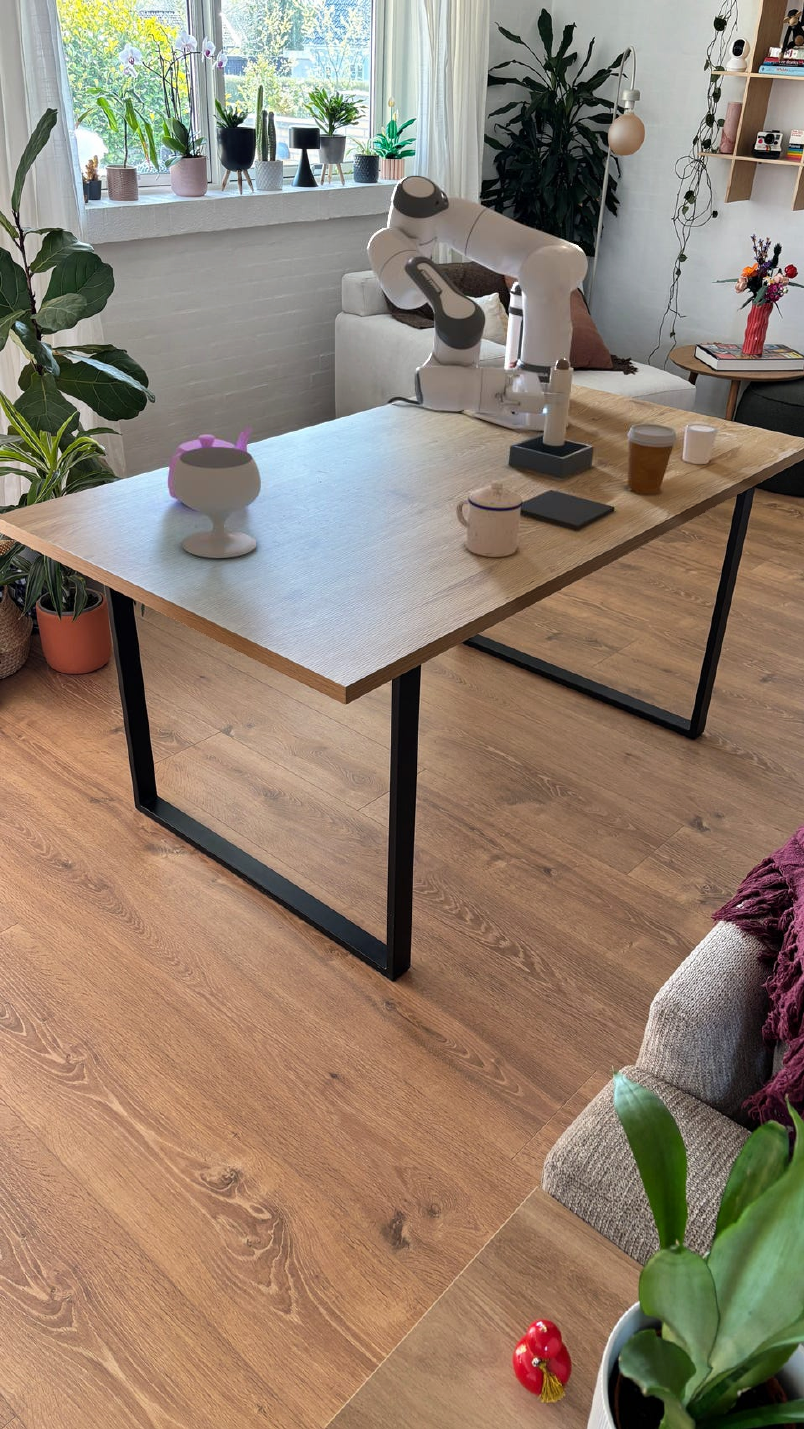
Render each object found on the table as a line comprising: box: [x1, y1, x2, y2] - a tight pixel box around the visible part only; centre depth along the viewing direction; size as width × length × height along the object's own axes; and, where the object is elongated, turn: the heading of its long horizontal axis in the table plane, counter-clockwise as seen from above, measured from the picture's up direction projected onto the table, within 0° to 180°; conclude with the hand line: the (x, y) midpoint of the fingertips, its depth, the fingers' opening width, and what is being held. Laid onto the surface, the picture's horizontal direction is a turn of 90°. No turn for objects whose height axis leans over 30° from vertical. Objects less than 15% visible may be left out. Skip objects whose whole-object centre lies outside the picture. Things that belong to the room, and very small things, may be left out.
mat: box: [520, 489, 616, 532], centre depth 202 cm, size 14×14×1 cm
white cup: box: [682, 423, 719, 465], centre depth 234 cm, size 7×7×7 cm
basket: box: [508, 433, 595, 480], centre depth 225 cm, size 13×13×5 cm
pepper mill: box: [543, 359, 574, 446], centre depth 219 cm, size 4×4×17 cm
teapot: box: [167, 427, 254, 502], centre depth 198 cm, size 20×13×12 cm, turn 141°
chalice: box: [173, 447, 262, 559], centre depth 176 cm, size 14×14×15 cm
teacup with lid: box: [455, 480, 524, 558], centre depth 183 cm, size 12×9×12 cm
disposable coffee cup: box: [626, 423, 678, 496], centre depth 213 cm, size 10×10×12 cm
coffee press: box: [504, 279, 524, 370], centre depth 276 cm, size 17×16×30 cm
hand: (563, 394), depth 218 cm, fingers closed on pepper mill, 4 cm apart
